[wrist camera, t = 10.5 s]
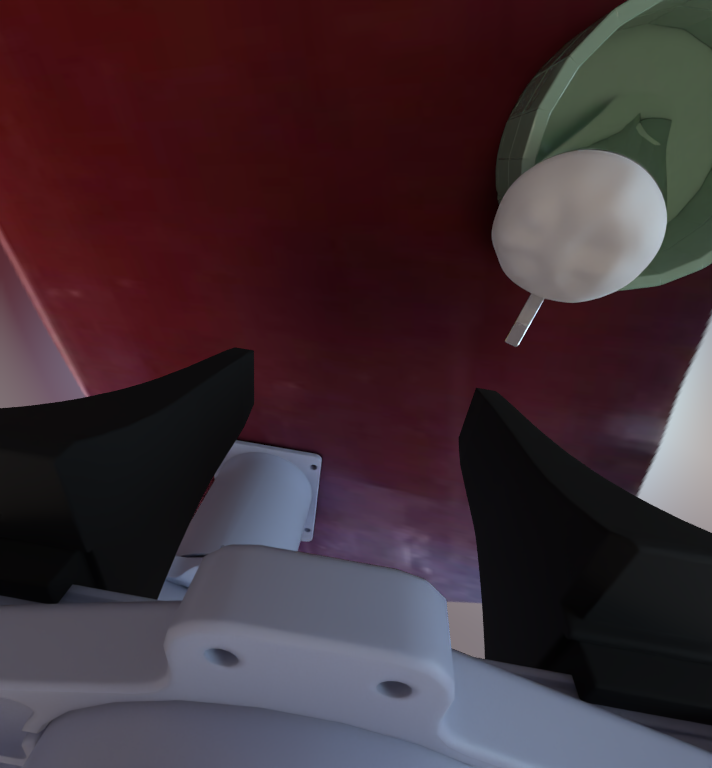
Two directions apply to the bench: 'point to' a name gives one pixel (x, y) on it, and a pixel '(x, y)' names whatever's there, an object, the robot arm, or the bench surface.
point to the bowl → (626, 76)
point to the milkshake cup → (590, 207)
